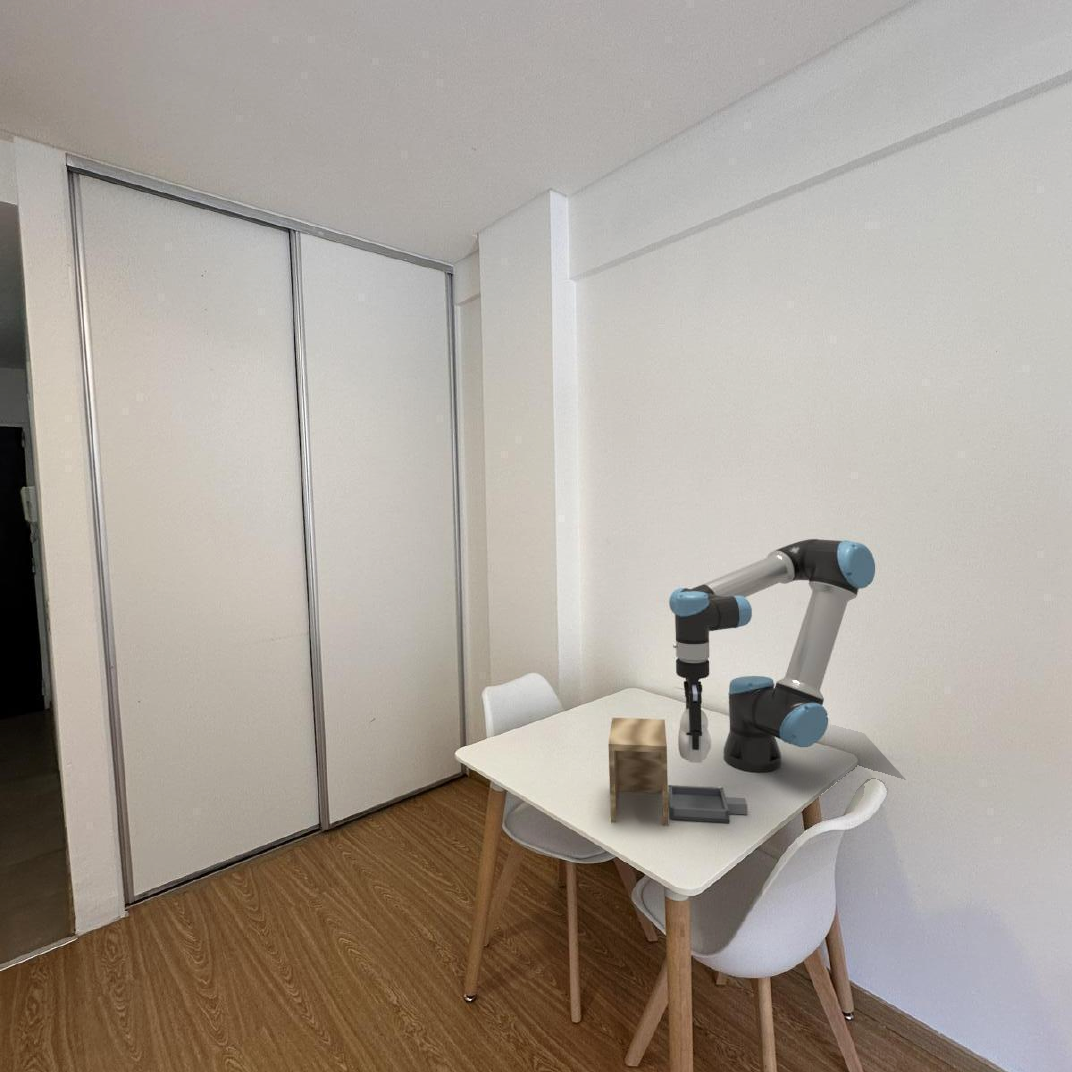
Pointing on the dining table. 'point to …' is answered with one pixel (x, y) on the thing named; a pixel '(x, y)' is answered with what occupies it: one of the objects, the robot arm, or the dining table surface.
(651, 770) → the box
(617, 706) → the dining table surface
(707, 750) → the figurine
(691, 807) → the tray
